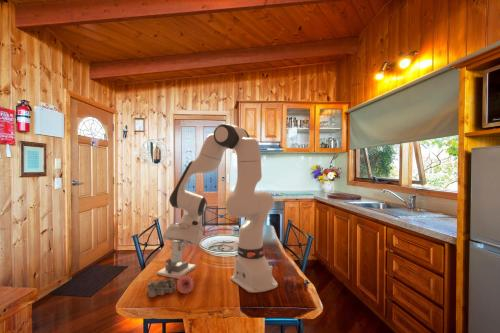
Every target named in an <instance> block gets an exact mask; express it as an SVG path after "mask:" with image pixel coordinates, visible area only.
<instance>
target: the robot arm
mask: <svg viewBox="0 0 500 333" xmlns="http://www.w3.org/2000/svg"><path fill="white" fill-rule="evenodd" d="M259 144H260V143H259V142H258V140H257V139H255V138H253V137H250V135H249V133H248V132H247V130H245V129H244V128H241V127H239V126H237V125H235V124H230V123H220V124H218V125H217V126H216V127H215V128H214V130H213V133H210V134H208V135H207V137H206V138H205V140H204V142H203V144H202V147H201V148H200V152H199V154H198V156H197V157H196V159H192V160H191V161H190V162H189V163H188V164H187V166H186V167H185V169H184V171H183V172H182V174H181V177H180V178H179V180H178V182H177V184H176V185H175V187H174V189H173V191H172V192H171V194H170V196H169V199H168V201H169V204H170V206H171V207H172V208H175V209H180V210H182V211H185V213H184V214H183V215H182V217H181V219H180V220H179V223H175V222H173V223H171V224H169V225H168V227H167V228H166V230H165V231H164V233H163V234H162V235H163V238H164V239H165V241H169V242H170V246H169V249H171V250H172V241H173V240H175V239H178V240H182V246H180V247H179V250H180V251H182V252H183V251H184V249H185V248H186V247H187V246H188V245H189V244H191V245H199V244H200V243H201V242H202V239H203V236H204V232H205V228H204V226H203V224H201V223H200V218H201V217H202V216H203V215H204V214H205V212H206V209H207V206H208V201H207V199H206V197H204V196H203V195H201V194H198V193H194V192H192V191H189V190H186V187H187V184H188V183H189V181H190V180H191V177H193V175H195V174H209V173H214V172H215V171H217V169H218V168H219V166H220V164H221V162H222V158H223V155H224V153H225V151H226V150H227V149H230V150H234V151H235V152H236V159H237V160H236V162H237V164H236V165H237V167H236V168H237V171H236V174H237V178H236V182H235V187H234V190H233V192H232V193H231V194H230V195H229V197H228V198H227V199H226V202H225V209H226V212H227V214H228V215H229V216H230V217H232V218H237V219H238V218H239V219H244V218H245V220H244V222H243V223H242V224H241V225H240V227H239V229H238V245H237V256H236V258H235V260H234V267H233V268H234V269H233V275H231V277H230V280H231V281H232V282H234V283H235V284H237V285H238V286H239V287H241V288H242V289H244V291H246V292H248V293H263V292H267V291H271V290H274V289H276V288H278V286H279V284H278V282H277V280H276V279H275V278H274V276H273V269H274V268H273V267H274V266H273V265H269V260H268V259H267V258H266V256H265V255H266V254H265V248H264V244H263V240H264V239H263V238H264V228H265V223H266V220H267V217H268V215H269V213H270V212H271V210H273V208H274V205H275V201H274V197H273V195H272V194H271V193H270V192H267V191H262V190H257V191H255V190H256V187H257V185H258V183H259V182H260V181H261V179H262V176H263V175H262V158H261V155H262V154H261V151H260V150H261V148H260V145H259Z"/></svg>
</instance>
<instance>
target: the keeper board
mask: <svg viewBox="0 0 500 333" xmlns="http://www.w3.org/2000/svg"><path fill="white" fill-rule="evenodd" d="M165 263H166V264H165V267H164V268H162V269H160V270H158V271H156V275H157V276H164V277H167V278H173V279H178V278H181V277H180V275H181V276H183V274H184V275H185V276H186V274H189V272H190V271H193V270H194V269H195V268H196V267H197V266H196V265H197V264H194V263H189V261H188V260H187V261H183V262H182V261H180V262H179V263H175V262H171V258H167V259H166V260H165Z"/></svg>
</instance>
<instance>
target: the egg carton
mask: <svg viewBox="0 0 500 333" xmlns="http://www.w3.org/2000/svg"><path fill="white" fill-rule="evenodd" d="M146 287H147V293H148V298H149V297H150V298H155V297H156V296H158V295H159V296H164V295H166V294H173V293H174V292H176V288H177V285H176V282H175V279H174V278H172V277H170V278H168V279H165V280H164V279H161V280H158V281H150V282H149V283H148V284H147V286H146Z"/></svg>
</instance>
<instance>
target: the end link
mask: <svg viewBox="0 0 500 333" xmlns="http://www.w3.org/2000/svg"><path fill="white" fill-rule="evenodd" d="M182 245H183V242H182V240H178V239H175V240H173V241H172V249H171V250H170V251H171V254H170V256H171V258H170V259H171V262H175V263H179V262H182V261H183V251H180V250H179V247H180V246H182Z"/></svg>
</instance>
